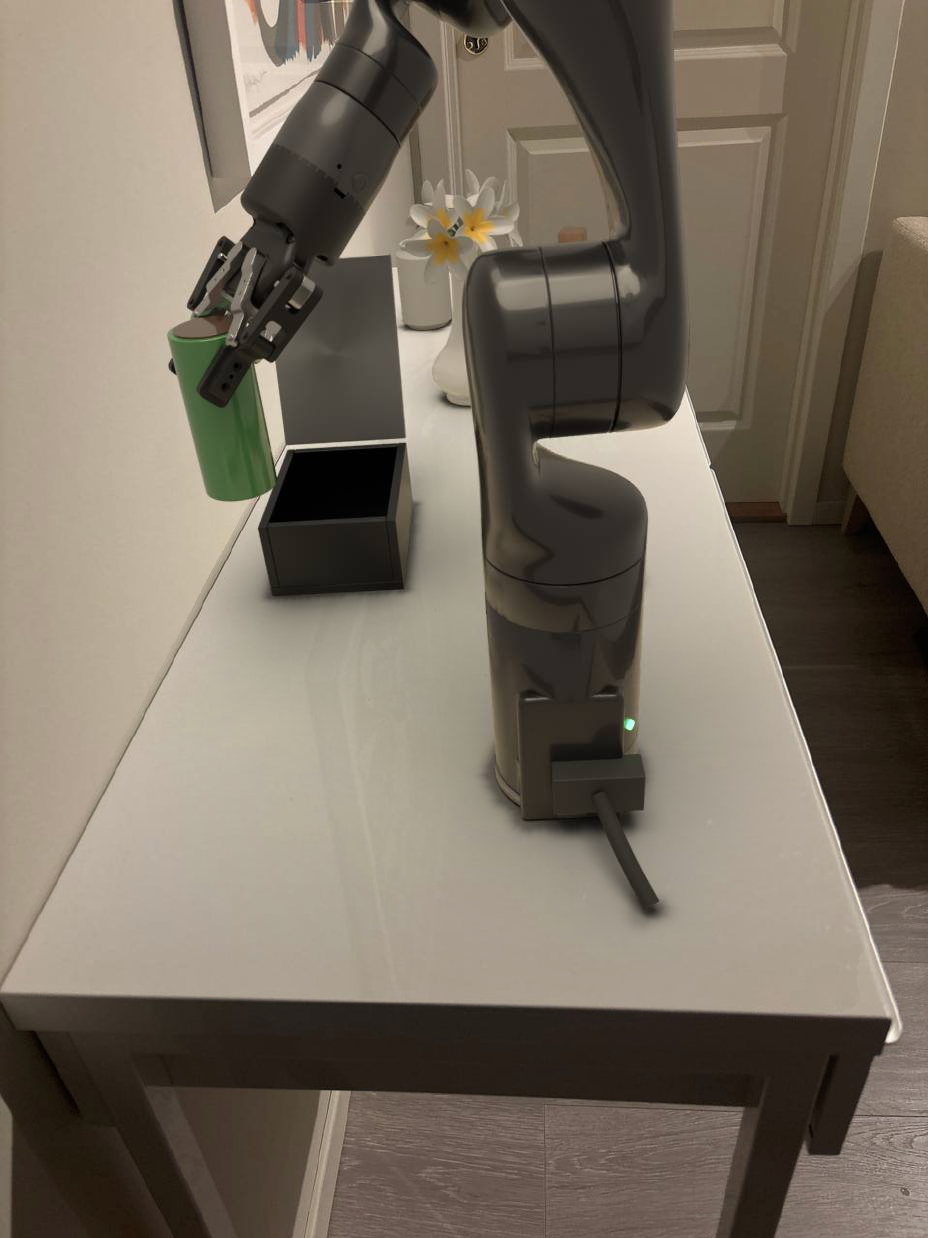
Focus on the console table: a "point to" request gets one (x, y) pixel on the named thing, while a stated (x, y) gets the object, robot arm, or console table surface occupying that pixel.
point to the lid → (345, 359)
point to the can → (422, 293)
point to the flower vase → (458, 257)
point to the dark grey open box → (338, 520)
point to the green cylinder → (222, 416)
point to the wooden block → (572, 234)
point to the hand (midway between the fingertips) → (194, 387)
